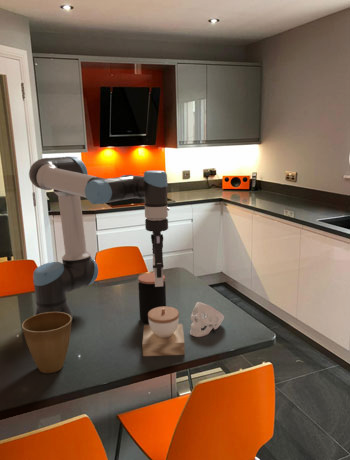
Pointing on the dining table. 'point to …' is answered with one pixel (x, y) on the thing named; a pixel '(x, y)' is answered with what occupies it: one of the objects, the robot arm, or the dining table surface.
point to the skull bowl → (204, 319)
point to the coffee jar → (150, 295)
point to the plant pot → (48, 339)
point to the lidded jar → (163, 321)
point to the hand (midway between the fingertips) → (158, 279)
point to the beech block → (163, 343)
